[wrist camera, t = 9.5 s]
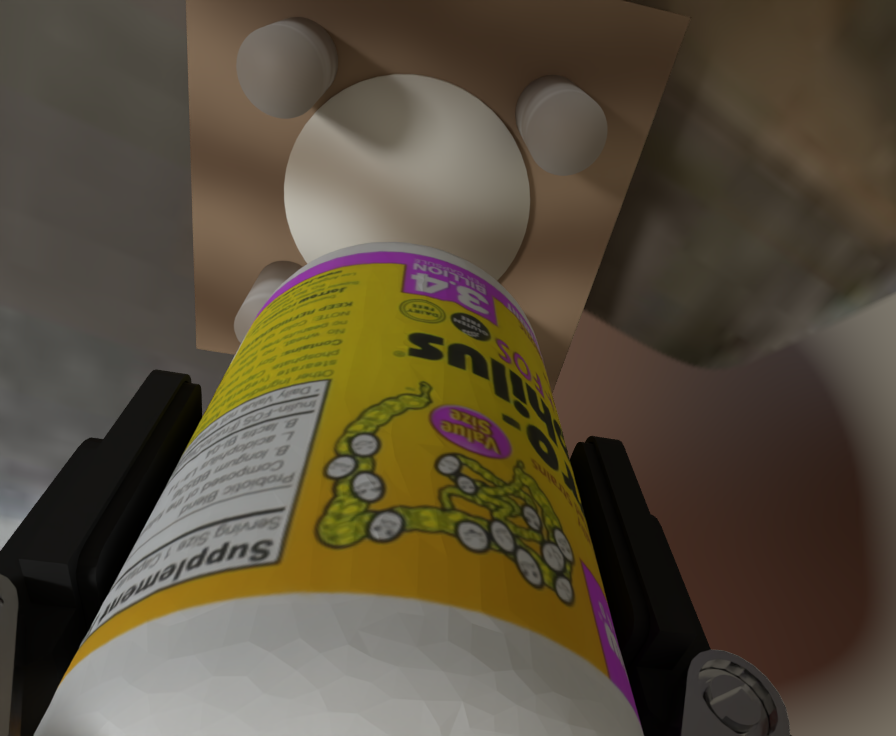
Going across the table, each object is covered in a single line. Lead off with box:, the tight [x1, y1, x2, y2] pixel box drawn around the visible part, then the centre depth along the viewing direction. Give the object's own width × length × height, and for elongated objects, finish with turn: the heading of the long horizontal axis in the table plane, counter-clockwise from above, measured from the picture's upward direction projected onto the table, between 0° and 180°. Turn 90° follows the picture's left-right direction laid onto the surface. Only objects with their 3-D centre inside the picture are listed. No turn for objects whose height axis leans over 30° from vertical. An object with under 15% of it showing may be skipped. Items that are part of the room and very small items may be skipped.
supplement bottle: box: [33, 242, 644, 736], centre depth 9 cm, size 7×7×13 cm
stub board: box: [186, 0, 691, 393], centre depth 22 cm, size 16×16×6 cm
